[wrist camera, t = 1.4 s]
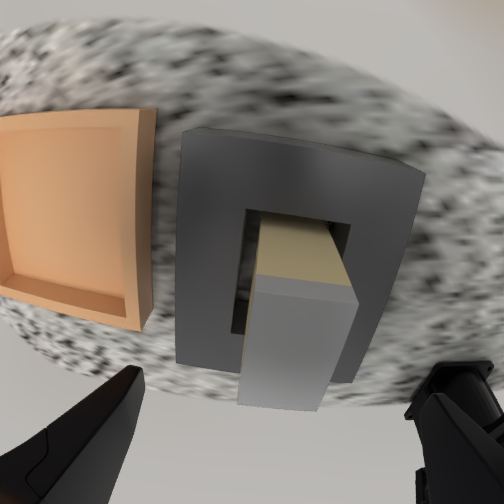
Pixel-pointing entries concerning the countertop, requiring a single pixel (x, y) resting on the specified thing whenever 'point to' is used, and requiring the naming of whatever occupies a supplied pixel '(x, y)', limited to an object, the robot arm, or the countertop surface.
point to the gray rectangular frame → (285, 202)
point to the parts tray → (78, 212)
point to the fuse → (294, 314)
